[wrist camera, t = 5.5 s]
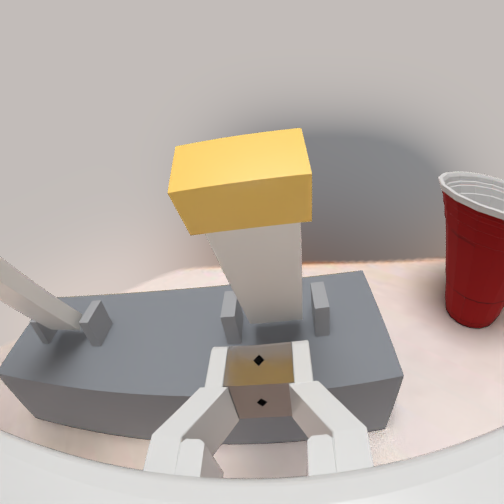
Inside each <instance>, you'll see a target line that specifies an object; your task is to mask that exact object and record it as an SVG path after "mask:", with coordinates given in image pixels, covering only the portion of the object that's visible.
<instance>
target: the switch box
mask: <svg viewBox="0 0 504 504" xmlns="http://www.w3.org/2000/svg"><path fill="white" fill-rule="evenodd" d="M57 298H58V299H60V300H61V301H63V302H64V303H66V304H67V305H69V306H70V307H72V308H73V309H75V310H76V311H78V312H80V313H81V314H82V318H81V320H80V321H79V324H80V326H81V327H80V330H51V329H49V328H47V327H45V326H43V325H42V324H40V323H38V322H36V321H34V320H32V319H31V321H30V323H29V325H28V326H27V328H26V329H25V331H24V332H23V333H22V335H21V336H20V338H19V339H18V341H17V342H16V343H15V345H14V346H13V348H12V349H11V351H10V352H9V354H8V355H7V357H6V359H5V360H4V362H3V363H2V365H1V366H0V378H1V379H2V381H3V382H4V383H5V384H6V385H7V387H8V388H9V389H10V390H11V391H12V392H13V394H14V395H15V396H16V397H17V398H18V399H19V400H20V401H21V403H22V404H23V405H24V406H25V407H26V408H27V409H28V410H29V411H30V412H31V413H32V414H33V415H34V416H35V417H36V418H39V419H42V420H46V421H50V422H54V423H58V424H62V425H66V426H70V427H75V428H79V429H84V430H89V431H95V432H100V433H106V434H112V435H118V436H125V437H132V438H140V439H148V440H151V437H152V434H153V433H154V432H155V431H156V430H157V429H158V428H159V427H160V426H162V425H163V424H164V423H165V422H166V421H167V420H168V419H169V418H170V417H171V416H172V415H173V414H174V413H175V412H176V411H177V410H178V409H179V408H180V407H181V406H182V405H183V404H184V403H185V402H186V401H187V400H188V399H189V398H190V397H191V396H192V395H193V394H194V393H195V392H196V391H197V390H198V389H199V388H200V387H205V382H206V376H207V371H208V365H209V360H210V354H211V350H212V348H213V347H229V346H250V345H262V344H273V343H284V342H291V343H292V342H294V341H303V340H308V342H309V348H310V356H311V364H312V373H313V381H319V382H320V383H321V384H322V385H323V386H324V387H325V388H326V389H327V390H328V391H329V392H330V393H331V394H332V395H333V396H334V397H335V398H336V399H337V400H339V401H340V402H341V403H342V404H343V405H344V406H345V407H346V408H347V409H348V410H349V411H350V412H351V413H352V414H353V415H354V416H355V417H356V418H357V419H358V420H359V421H360V422H362V423H363V424H364V425H365V426H366V427H367V432H370V431H375V430H380V429H385V428H386V425H387V422H388V420H389V417H390V414H391V412H392V409H393V406H394V403H395V400H396V398H397V395H398V392H399V389H400V386H401V383H402V379H403V376H404V375H403V372H402V369H401V367H400V364H399V361H398V358H397V355H396V353H395V350H394V347H393V345H392V342H391V339H390V337H389V334H388V331H387V329H386V326H385V324H384V321H383V319H382V316H381V314H380V311H379V309H378V306H377V304H376V301H375V299H374V297H373V294H372V292H371V289H370V287H369V285H368V282H367V280H366V278H365V275H364V273H363V271H353V272H345V273H336V274H328V275H319V276H310V277H302V319H300V320H291V321H281V322H270V323H259V324H250V323H249V321H248V319H247V317H246V315H245V313H244V311H243V309H242V307H241V305H240V303H239V301H238V299H237V297H236V295H235V293H234V292H233V290H232V288H231V286H230V285H221V286H210V287H199V288H187V289H175V290H162V291H149V292H135V293H121V294H107V295H90V296H74V297H57ZM308 439H309V438H308V437H307V436H306V434H305V433H304V432H303V430H302V429H301V428H300V427H299V425H298V424H297V423H296V421H295V420H294V419H293V417H292V416H283V417H261V418H244V419H239V421H238V423H237V424H236V425H235V427H234V428H233V430H232V431H231V432H230V434H229V435H228V436H227V438H226V439H225V440H224V442H223V443H222V444H260V443H280V442H294V441H305V440H308Z"/></svg>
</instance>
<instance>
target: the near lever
mask: <svg viewBox="0 0 504 504" xmlns="http://www.w3.org/2000/svg"><path fill="white" fill-rule="evenodd" d="M168 195H169V197H170V198H171V200H172V202H173V204H174V206H175V208H176V209H177V211H178V213H179V215H180V217H181V219H182V221H183V222H184V224H185V226H186V228H187V230H188V231H189V233H190V235H197V234H205V235H206V237H207V240H208V242H209V244H210V246H211V248H212V250H213V252H214V254H215V256H216V258H217V260H218V262H219V264H220V266H221V268H222V270H223V272H224V274H225V276H226V278H227V280H228V282H229V284H230V286H231V288H232V290H233V292H234V293H235V295H236V297H237V299H238V301H239V303H240V305H241V307H242V309H243V311H244V313H245V315H246V317H247V319H248V321H249V323H250V324H259V323H270V322H281V321H291V320H300V319H302V256H301V255H302V254H301V253H302V252H301V222H309V221H312V172H311V168H310V163H309V159H308V155H307V150H306V146H305V142H304V138H303V134H302V130H301V128H296V129H287V130H279V131H269V132H261V133H253V134H246V135H239V136H233V137H226V138H220V139H214V140H208V141H202V142H197V143H192V144H186V145H181V146H176V148H175V153H174V158H173V164H172V169H171V175H170V181H169V187H168Z"/></svg>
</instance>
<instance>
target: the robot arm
mask: <svg viewBox="0 0 504 504" xmlns="http://www.w3.org/2000/svg"><path fill="white" fill-rule="evenodd" d="M283 416H292V417H293V419H294V420H295V421H296V423H297V424H298V425H299V427H300V428H301V429H302V430H303V432H304V433H305V434H306V436H307V437H308V438H309V439H308V440H307V473H308V476H300V477H285V478H257V479H237V478H223V474H224V472H223V471H222V470H221V468H220V467H219V465H218V463H217V462H216V460H215V459H214V457H213V455H214V454H215V452H216V451H217V450H218V448H219V447H220V446H221V444H222V443H223V442H224V440H225V439H226V438H227V436H228V435H229V434H230V432H231V431H232V430H233V428H234V427H235V425H236V424H237V423H238V421H239V419H244V418H261V417H283ZM0 504H504V426H502V427H499V428H497V429H495V430H493V431H490V432H488V433H485V434H483V435H480V436H478V437H475V438H472V439H470V440H467V441H464V442H462V443H459V444H456V445H453V446H450V447H447V448H444V449H441V450H437V451H434V452H431V453H427V454H424V455H420V456H417V457H413V458H409V459H405V460H401V461H397V462H392V463H388V464H383V465H378V466H374V465H373V459H372V453H371V448H370V442H369V437H368V432H367V427H366V426H365V425H364V424H363V423H362V422H360V421H359V420H358V419H357V418H356V417H355V416H354V415H353V414H352V413H351V412H350V411H349V410H348V409H347V408H346V407H345V406H344V405H343V404H342V403H341V402H340V401H339V400H337V399H336V398H335V397H334V396H333V395H332V394H331V393H330V392H329V391H328V390H327V389H326V388H325V387H324V386H323V385H322V384H321V383H320V382H319V381H313V373H312V364H311V356H310V348H309V342H308V340H303V341H294V342H292V343H291V342H284V343H273V344H262V345H250V346H229V347H213V348H212V350H211V354H210V360H209V365H208V371H207V376H206V382H205V387H200V388H199V389H198V390H197V391H196V392H195V393H194V394H193V395H192V396H191V397H190V398H189V399H188V400H187V401H186V402H185V403H184V404H183V405H182V406H181V407H180V408H179V409H178V410H177V411H176V412H175V413H174V414H173V415H172V416H171V417H170V418H169V419H168V420H167V421H166V422H165V423H164V424H163V425H162V426H160V427H159V428H158V429H157V430H156V431H155V432H154V433H153V434H152V437H151V441H150V444H149V448H148V452H147V456H146V460H145V464H144V468H143V470H137V469H131V468H126V467H121V466H116V465H111V464H106V463H102V462H97V461H93V460H89V459H85V458H81V457H78V456H74V455H70V454H67V453H63V452H60V451H57V450H54V449H51V448H47V447H44V446H41V445H39V444H36V443H33V442H30V441H27V440H25V439H22V438H19V437H17V436H14V435H12V434H9V433H7V432H4V431H2V430H0Z"/></svg>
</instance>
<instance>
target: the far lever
mask: <svg viewBox="0 0 504 504" xmlns="http://www.w3.org/2000/svg"><path fill="white" fill-rule="evenodd" d="M0 301H2V302H4V303H5V304H7V305H8V306H10V307H12V308H13V309H15V310H17V311H18V312H20V313H22V314H24V315H25V316H27V317H29V318H31V319H32V320H34V321H36V322H38V323H40V324H42V325H43V326H45V327H47V328H49V329H51V330H80V327H81V326H80V324H79V321H80V320H81V318H82V314H81V313H80V312H78V311H76V310H75V309H73V308H72V307H70V306H69V305H67V304H66V303H64V302H63V301H61V300H60V299H58V298H57V297H55V296H54V295H52V294H51V293H49V292H48V291H46V290H45V289H43V288H42V287H41V286H39V285H38V284H36V283H35V282H34V281H32V280H31V279H29V278H28V277H27V276H25V275H24V274H23V273H21V272H20V271H18V270H17V269H16V268H14V267H13V266H12V265H11V264H9V263H8V262H7V261H6V260H4V259H3V258H2V257H0Z"/></svg>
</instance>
